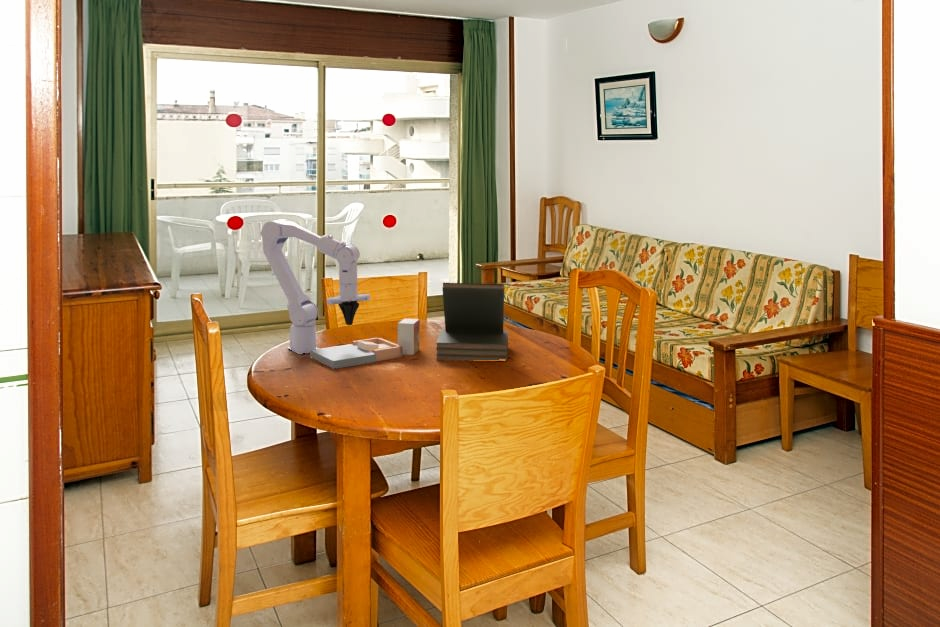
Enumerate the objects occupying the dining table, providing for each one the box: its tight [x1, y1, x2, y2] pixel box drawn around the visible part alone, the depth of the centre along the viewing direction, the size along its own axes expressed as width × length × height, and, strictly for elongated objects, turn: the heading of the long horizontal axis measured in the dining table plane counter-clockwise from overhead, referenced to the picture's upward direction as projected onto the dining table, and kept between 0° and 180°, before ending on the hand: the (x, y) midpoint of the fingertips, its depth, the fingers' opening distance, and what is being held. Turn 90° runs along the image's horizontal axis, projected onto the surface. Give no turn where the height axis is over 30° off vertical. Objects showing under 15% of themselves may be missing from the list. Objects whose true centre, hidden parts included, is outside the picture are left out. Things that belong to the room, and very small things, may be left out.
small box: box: [397, 318, 421, 356], centre depth 263 cm, size 8×6×10 cm
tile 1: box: [357, 340, 379, 351], centre depth 257 cm, size 5×5×2 cm
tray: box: [352, 337, 404, 362], centre depth 260 cm, size 15×10×4 cm, turn 37°
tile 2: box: [371, 344, 392, 352], centre depth 260 cm, size 5×5×2 cm
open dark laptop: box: [435, 282, 509, 361], centre depth 260 cm, size 23×20×25 cm
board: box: [309, 343, 377, 370], centre depth 252 cm, size 16×15×2 cm
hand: (349, 324), depth 257 cm, fingers closed
